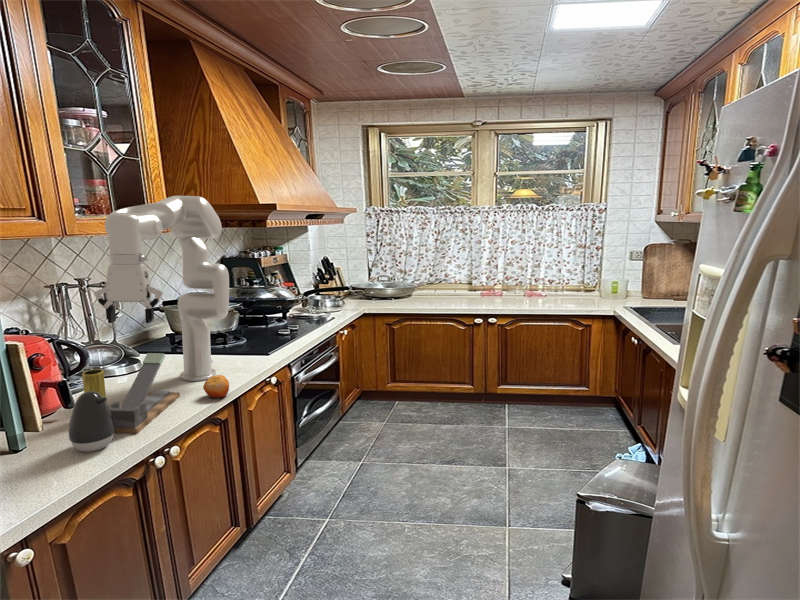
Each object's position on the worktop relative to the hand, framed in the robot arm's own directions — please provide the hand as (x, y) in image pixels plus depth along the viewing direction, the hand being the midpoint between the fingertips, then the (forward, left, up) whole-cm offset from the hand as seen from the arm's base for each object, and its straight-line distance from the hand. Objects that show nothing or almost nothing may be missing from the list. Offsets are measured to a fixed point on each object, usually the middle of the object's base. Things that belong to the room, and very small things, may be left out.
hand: (130, 322), depth 134 cm
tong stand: (-9, -3, -31) cm, 32 cm away
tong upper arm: (-10, -3, -22) cm, 24 cm away
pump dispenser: (+13, -5, -31) cm, 34 cm away
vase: (-5, -15, -31) cm, 34 cm away
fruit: (-24, +14, -31) cm, 42 cm away
